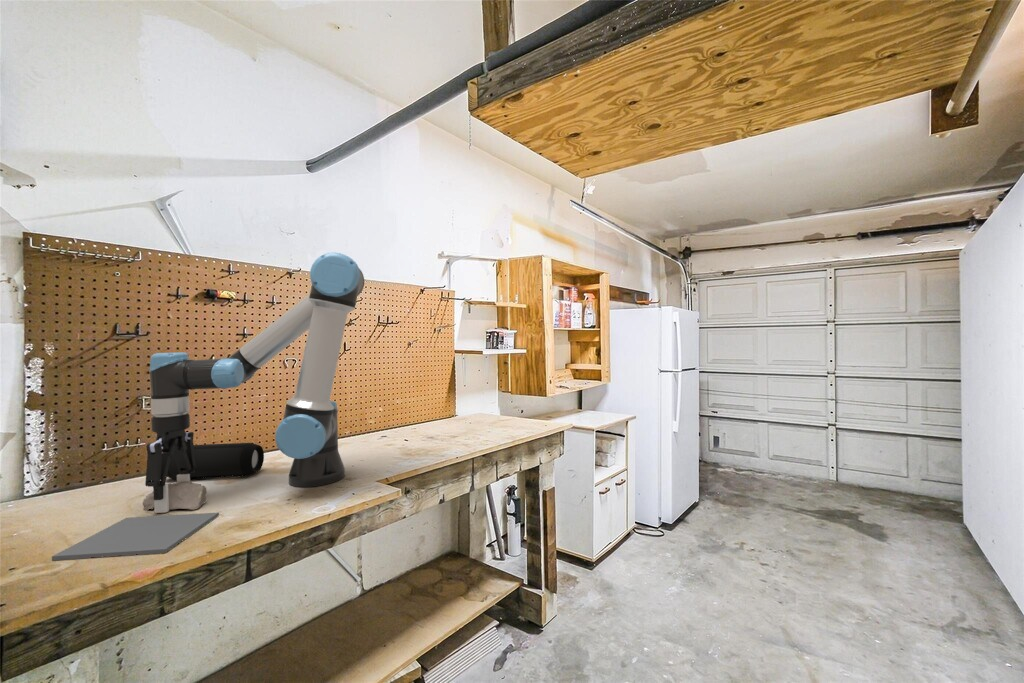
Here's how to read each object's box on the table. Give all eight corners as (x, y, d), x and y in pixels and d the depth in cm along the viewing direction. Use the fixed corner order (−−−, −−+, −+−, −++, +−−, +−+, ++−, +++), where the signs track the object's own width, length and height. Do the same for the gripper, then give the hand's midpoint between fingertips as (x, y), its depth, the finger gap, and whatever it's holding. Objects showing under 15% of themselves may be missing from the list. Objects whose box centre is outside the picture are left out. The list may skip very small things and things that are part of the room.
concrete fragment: (190, 513, 104) (189, 488, 104) (138, 511, 105) (138, 487, 105) (214, 502, 111) (213, 478, 111) (165, 500, 112) (164, 477, 112)
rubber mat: (218, 515, 102) (218, 512, 102) (165, 553, 84) (165, 549, 84) (126, 521, 100) (126, 517, 100) (51, 560, 82) (51, 556, 82)
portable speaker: (265, 470, 139) (265, 439, 139) (250, 480, 129) (249, 446, 129) (180, 474, 136) (179, 442, 136) (158, 484, 126) (157, 450, 126)
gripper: (181, 408, 118) (183, 492, 118) (122, 422, 97) (124, 523, 98) (210, 407, 119) (213, 490, 119) (157, 421, 98) (160, 521, 98)
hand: (173, 505), depth 108 cm, fingers open, 7 cm apart
